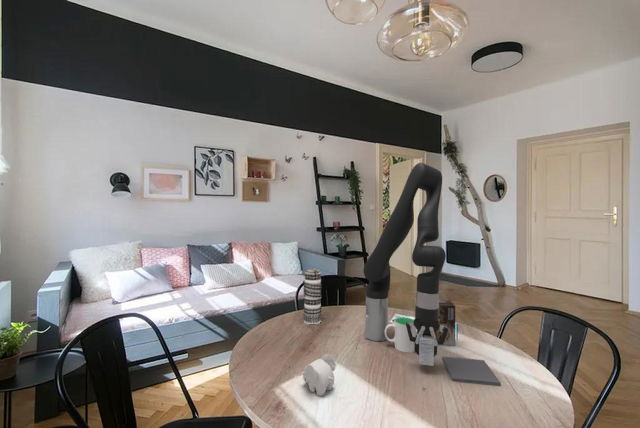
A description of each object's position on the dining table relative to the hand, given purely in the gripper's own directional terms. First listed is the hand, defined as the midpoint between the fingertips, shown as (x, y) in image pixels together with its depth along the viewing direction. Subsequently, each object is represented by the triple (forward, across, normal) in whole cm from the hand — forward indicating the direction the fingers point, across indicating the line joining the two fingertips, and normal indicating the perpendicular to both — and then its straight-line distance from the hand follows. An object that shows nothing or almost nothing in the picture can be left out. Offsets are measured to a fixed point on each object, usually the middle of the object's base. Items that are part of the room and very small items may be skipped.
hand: (425, 354), depth 102 cm
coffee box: (+5, +9, +23) cm, 25 cm away
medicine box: (+2, 0, 0) cm, 2 cm away
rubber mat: (+5, +14, +1) cm, 15 cm away
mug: (+5, -7, +14) cm, 17 cm away
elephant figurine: (+6, -33, -19) cm, 39 cm away
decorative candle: (+6, -47, +33) cm, 58 cm away
